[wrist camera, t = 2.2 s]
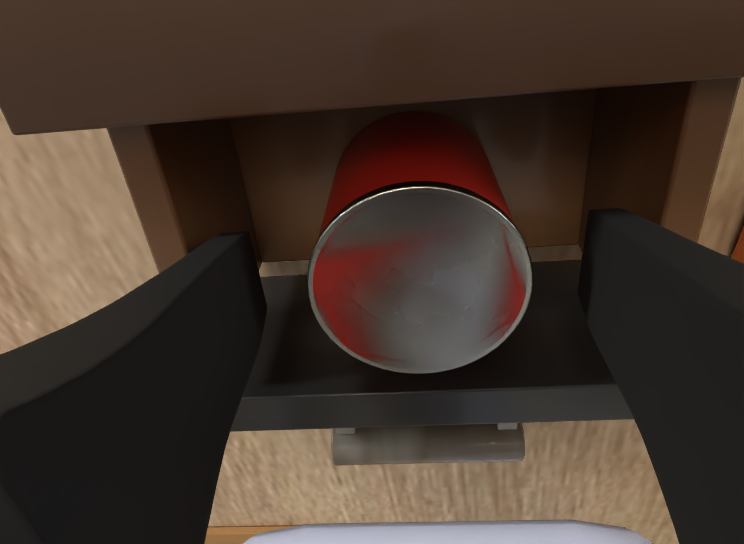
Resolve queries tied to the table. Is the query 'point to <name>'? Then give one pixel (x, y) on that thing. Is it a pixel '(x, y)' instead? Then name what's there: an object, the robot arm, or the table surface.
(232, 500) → the table surface
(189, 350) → the robot arm
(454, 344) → the tin
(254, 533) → the trivet
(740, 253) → the supplement box
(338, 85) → the cabinet
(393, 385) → the drawer
